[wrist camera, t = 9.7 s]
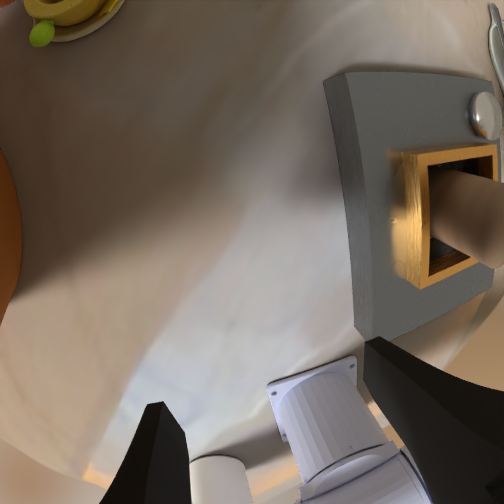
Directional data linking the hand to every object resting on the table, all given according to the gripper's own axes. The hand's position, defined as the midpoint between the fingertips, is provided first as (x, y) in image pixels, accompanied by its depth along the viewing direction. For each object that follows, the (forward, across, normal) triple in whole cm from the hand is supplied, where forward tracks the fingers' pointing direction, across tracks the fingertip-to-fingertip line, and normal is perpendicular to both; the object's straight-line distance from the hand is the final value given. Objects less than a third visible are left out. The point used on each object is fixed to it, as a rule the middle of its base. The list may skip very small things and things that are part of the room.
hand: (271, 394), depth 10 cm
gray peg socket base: (+10, -15, -1) cm, 18 cm away
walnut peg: (+10, -15, -1) cm, 18 cm away
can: (+10, +8, +23) cm, 26 cm away
